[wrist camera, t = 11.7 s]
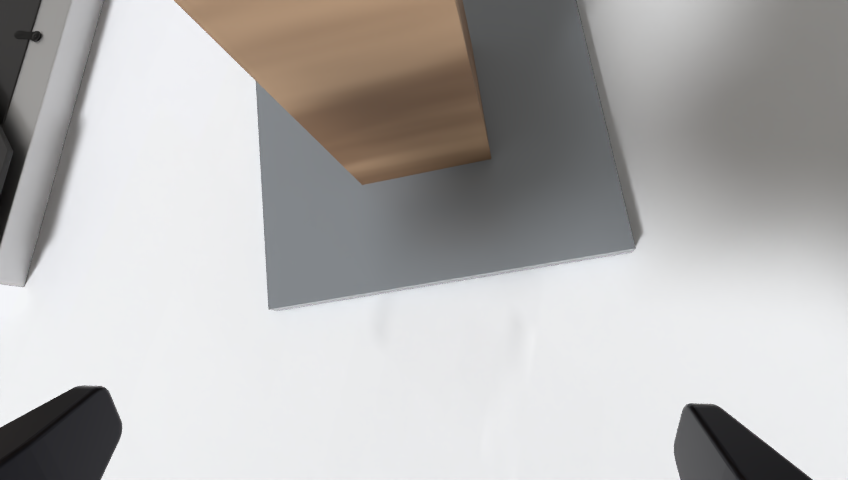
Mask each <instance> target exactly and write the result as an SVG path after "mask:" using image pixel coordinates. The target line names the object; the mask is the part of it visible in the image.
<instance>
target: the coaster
mask: <svg viewBox="0 0 848 480" xmlns="http://www.w3.org/2000/svg"><path fill="white" fill-rule="evenodd" d="M463 5H464V10H465V14H466V19H467V24H468V29H469V34H470V38H471V44H472V49H473V55H474V61H475V67H476V72H477V78H478V84H479V90H480V95H481V101H482V107H483V113H484V118H485V124H486V130H487V136H488V141H489V147H490V153H491V159H489V160H484V161H479V162H474V163H469V164H464V165H459V166H454V167H449V168H444V169H439V170H434V171H430V172H425V173H420V174H415V175H410V176H405V177H400V178H395V179H390V180H385V181H380V182H375V183H370V184H365V185H362V184H361V183H360V182H359V181H358V180H357V179H356V178H355V177H354V176H353V175H351V174H350V173H349V172H348V171H347V170H346V169H345V168H344V167H343V166H342V165H341V164H340V163H339V162H338V161H337V160H336V159H335V158H334V157H333V156H332V155H331V154H330V153H329V152H328V151H327V150H326V149H325V148H324V147H323V146H322V145H321V144H320V143H319V142H318V141H317V140H316V139H315V138H314V137H313V136H312V135H311V134H310V133H309V132H308V131H307V130H306V129H305V128H304V127H303V126H302V125H301V124H299V123H298V122H297V121H296V120H295V119H294V118H293V117H292V116H291V115H290V114H289V113H288V112H287V111H286V110H285V109H284V108H283V107H282V106H281V105H280V104H279V103H278V102H277V101H276V100H275V99H274V98H273V97H272V96H271V95H270V94H269V93H268V92H267V91H266V90H265V89H264V88H263V87H262V86H261V85H260V84H259V83H258V82H257V81H256V93H257V111H258V129H259V147H260V164H261V182H262V200H263V218H264V236H265V254H266V272H267V290H268V307H269V310H274V311H280V310H286V309H292V308H298V307H304V306H310V305H316V304H322V303H328V302H334V301H340V300H346V299H353V298H359V297H365V296H371V295H377V294H383V293H389V292H395V291H401V290H407V289H413V288H419V287H425V286H431V285H437V284H443V283H449V282H455V281H461V280H467V279H473V278H479V277H485V276H492V275H498V274H504V273H510V272H516V271H522V270H528V269H534V268H540V267H546V266H552V265H558V264H564V263H570V262H576V261H582V260H588V259H594V258H600V257H606V256H612V255H618V254H624V253H631V252H633V251H634V250H635V249H636V248H635V244H634V240H633V235H632V231H631V227H630V223H629V219H628V215H627V210H626V206H625V202H624V198H623V194H622V190H621V186H620V181H619V177H618V173H617V169H616V165H615V161H614V156H613V152H612V148H611V144H610V140H609V136H608V132H607V127H606V123H605V119H604V115H603V111H602V107H601V102H600V98H599V94H598V90H597V86H596V82H595V78H594V73H593V69H592V65H591V61H590V57H589V53H588V48H587V44H586V40H585V36H584V32H583V28H582V24H581V19H580V15H579V11H578V7H577V3H576V0H463Z"/></svg>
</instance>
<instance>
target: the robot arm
mask: <svg viewBox="0 0 848 480" xmlns="http://www.w3.org/2000/svg"><path fill="white" fill-rule="evenodd" d="M121 433H122V422H121V419H120V417H119V414H118V412H117V409H116V407H115V405H114V402H113V400H112V397H111V395H110V393H109V391H108V390H107V389H106V388H105V387H102V386H77V387H75V388H73V389H71V390H69V391H67V392H65V393H63V394H61V395H60V396H58V397H56V398H54V399H52V400H50V401H49V402H47V403H45V404H43V405H41V406H39V407H38V408H36V409H34V410H32V411H30V412H28V413H26V414H25V415H23V416H21V417H19V418H17V419H15V420H14V421H12V422H10V423H8V424H6V425H4V426H3V427H1V428H0V480H101V478H102V476H103V474H104V472H105V469H106V467H107V465H108V463H109V461H110V459H111V457H112V454H113V452H114V450H115V448H116V446H117V444H118V442H119V440H120V437H121ZM674 455H675V461H676V465H677V468H678V472H679V476H680V480H813V479H811V478H810V477H809V476H807V475H806V474H805V473H804V472H802V471H801V470H800V469H798V468H797V467H796V466H795V465H793V464H792V463H791V462H790V461H788V460H787V459H786V458H784V457H783V456H782V455H781V454H779V453H778V452H777V451H775V450H774V449H773V448H772V447H770V446H769V445H768V444H766V443H765V442H764V441H763V440H761V439H760V438H759V437H758V436H756V435H755V434H754V433H752V432H751V431H750V430H749V429H747V428H746V427H745V426H743V425H742V424H741V423H740V422H738V421H737V420H736V419H735V418H733V417H732V416H731V415H729V414H728V413H727V412H726V411H724V410H723V409H722V408H720V407H719V406H717V405H714V404H694V403H690V404H687V405H686V406H685V407H684V408H683V411H682V414H681V418H680V422H679V426H678V430H677V434H676V438H675V442H674Z"/></svg>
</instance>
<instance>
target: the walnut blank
mask: <svg viewBox="0 0 848 480" xmlns="http://www.w3.org/2000/svg"><path fill="white" fill-rule="evenodd" d="M174 1H175V2H176V3H177V4H178V5H179V6H180V7H181V8H182V9H183V10H184V11H185V12H186V13H187V14H188V15H189V16H190V17H191V18H192V19H193V20H194V21H195V22H196V23H198V24H199V25H200V26H201V27H202V28H203V29H204V30H205V31H206V32H207V33H208V34H209V35H210V36H211V37H212V38H213V39H214V40H215V41H216V42H217V43H218V44H219V45H220V46H221V47H222V48H223V49H224V50H225V51H226V52H227V53H228V54H229V55H230V56H231V57H232V58H233V59H234V60H235V61H236V62H237V63H238V64H239V65H240V66H241V67H242V68H243V69H244V70H245V71H246V72H247V73H249V74H250V75H251V76H252V77H253V78H254V79H255V80H256V81H257V82H258V83H259V84H260V85H261V86H262V87H263V88H264V89H265V90H266V91H267V92H268V93H269V94H270V95H271V96H272V97H273V98H274V99H275V100H276V101H277V102H278V103H279V104H280V105H281V106H282V107H283V108H284V109H285V110H286V111H287V112H288V113H289V114H290V115H291V116H292V117H293V118H294V119H295V120H296V121H297V122H298V123H299V124H301V125H302V126H303V127H304V128H305V129H306V130H307V131H308V132H309V133H310V134H311V135H312V136H313V137H314V138H315V139H316V140H317V141H318V142H319V143H320V144H321V145H322V146H323V147H324V148H325V149H326V150H327V151H328V152H329V153H330V154H331V155H332V156H333V157H334V158H335V159H336V160H337V161H338V162H339V163H340V164H341V165H342V166H343V167H344V168H345V169H346V170H347V171H348V172H349V173H350V174H351V175H353V176H354V177H355V178H356V179H357V180H358V181H359V182H360V183H361V184H362V185H365V184H370V183H375V182H380V181H385V180H390V179H395V178H400V177H405V176H410V175H415V174H420V173H425V172H430V171H434V170H439V169H444V168H449V167H454V166H459V165H464V164H469V163H474V162H479V161H484V160H489V159H491V153H490V147H489V141H488V136H487V130H486V124H485V118H484V113H483V107H482V101H481V95H480V90H479V84H478V78H477V72H476V67H475V61H474V55H473V49H472V44H471V38H470V34H469V29H468V24H467V19H466V14H465V10H464V5H463V0H174Z"/></svg>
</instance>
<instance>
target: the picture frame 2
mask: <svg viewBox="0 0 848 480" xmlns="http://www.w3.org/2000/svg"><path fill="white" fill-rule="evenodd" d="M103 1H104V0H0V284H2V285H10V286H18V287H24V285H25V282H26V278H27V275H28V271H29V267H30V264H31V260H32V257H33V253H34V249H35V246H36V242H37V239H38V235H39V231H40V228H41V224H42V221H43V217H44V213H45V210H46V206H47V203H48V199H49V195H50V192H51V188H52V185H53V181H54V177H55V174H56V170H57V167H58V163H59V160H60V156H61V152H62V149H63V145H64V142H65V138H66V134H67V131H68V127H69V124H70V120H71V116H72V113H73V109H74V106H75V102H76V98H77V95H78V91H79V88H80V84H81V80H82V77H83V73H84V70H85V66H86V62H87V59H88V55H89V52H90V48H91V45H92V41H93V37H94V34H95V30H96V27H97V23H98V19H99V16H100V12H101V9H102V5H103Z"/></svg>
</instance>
